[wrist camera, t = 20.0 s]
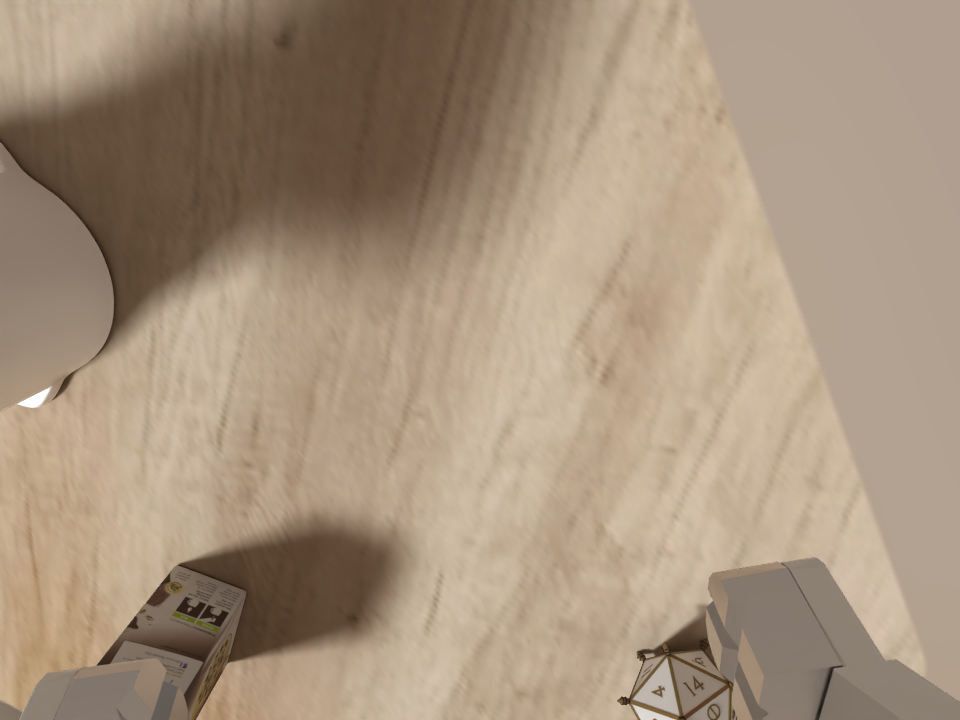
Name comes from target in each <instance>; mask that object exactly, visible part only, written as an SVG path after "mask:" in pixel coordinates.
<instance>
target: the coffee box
mask: <svg viewBox="0 0 960 720" xmlns="http://www.w3.org/2000/svg"><path fill="white" fill-rule="evenodd" d="M246 594H247V592H246V591H245V590H242V589H240V588H237V587H234V586H232V585H229V584H226V583H224V582H221V581H218V580H216V579H213V578H210V577H208V576H205V575H202V574H200V573H197V572H194V571H192V570H189V569H186V568H184V567H181V566H176V567H174V568H173V569H172V571H171V572H170V573H169V574H168V576H167V577H166V578H165V579H164V581H163V582H162V583H161V584H160V586H159V587H158V588H157V589H156V591H155V592H154V593H153V595H152V596H151V597H150V598H149V600H148V601H147V602H146V604H145V605H144V606H143V607H142V608H141V610H140V611H139V612H138V613H137V615H136V616H135V617H134V619H133V620H132V621H131V623H130V624H129V625H128V626H127V628H126V629H125V630H124V631H123V633H122V634H121V635H120V636H119V638H118V639H117V640H116V641H115V643H114V644H113V645H112V646H111V648H110V649H109V650H108V652H107V653H106V654H105V655H104V657H103V658H102V659H101V660H100V662H99V663H98V664H97V666H100V665H108V664H115V663H122V662H129V661H137V660H144V659H151V658H157V659H158V660H159V661H160V662H161V664H162V665H163V666H164V668H165V669H166V670H167V671H166V674H165V677H164V680H163V681H165V682H167V683H170V684H172V685H174V686H176V687H178V688H179V689H180V691H181V692H182V694H183V695H184V697H185V701H186V705H187V708H188V720H196V718H197V717H198V715H199V713H200V711H201V709H202V707H203V706H204V704H205V702H206V700H207V699H208V697H209V695H210V693H211V691H212V690H213V688H214V686H215V684H216V683H217V681H218V679H219V677H220V675H221V674H222V672H223V670H224V668H225V667H226V665H227V663H228V660H229V656H230V652H231V649H232V645H233V641H234V638H235V634H236V630H237V627H238V623H239V619H240V616H241V612H242V608H243V604H244V601H245V597H246Z"/></svg>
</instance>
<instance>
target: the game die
mask: <svg viewBox="0 0 960 720" xmlns="http://www.w3.org/2000/svg"><path fill="white" fill-rule="evenodd" d="M707 646H708V643H707V640H706V639H705V640H703V641H701V644H700V649H695V650H687V651H678V652H670V650H671V649H670V646H668V645H667V644H665V643H664V645H663V647H662V649H663V652H664V653H665V654H662V655H658V656H654V657H651V658H647V659H646V658H645V655H643V653H642V652H637V656H638V657H637V658H639V659H640V661H643V664H642V667H641V669H640V672H639V675H638V677H637V680H636V682H635V685H634V687H633V690H632V693H631V695H630V698H626V697H621V698H620V699H618V700H617V701H618V702H619V703H620V704H621V705H627V704H629V705H630V706H631V708H632V710H633V712H634V713H635V715H636V717H637V718H638V720H737V716H736V713H735V711H734V708H733V706H732V703H731V701H732V693H733V688H732V686H733V685H734V684H733V683H732V682H731V681H728V679H727V678H726V677H724V676H723V675H722V674H721V673H719V670H718V668H717V666H716V665H715V663H714V662H713V661H712V660H711V658H710V657H709V656H708V655H707V653H706V652H705V649H706V648H707Z"/></svg>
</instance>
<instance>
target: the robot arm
mask: <svg viewBox="0 0 960 720" xmlns="http://www.w3.org/2000/svg"><path fill="white" fill-rule="evenodd" d="M113 314H114V294H113V287H112V282H111V277H110V274H109V270H108V267H107V265H106V262H105V260H104V257H103V255H102V253H101V251H100V249H99V247H98V245H97V243H96V241H95V240H94V238H93V237H92V235H91V233H90V232H89V231H88V229H87V228H86V226H85V225H84V224H83V222H82V221H81V220H80V219H79V218H78V216H77V215H76V214H75V213H74V212H73V211H72V210H71V209H70V208H69V207H68V206H67V205H66V204H65V203H64V202H63V201H62V200H60V199H59V198H58V197H57V196H56V195H54V194H53V193H52V192H50V191H49V190H47V189H46V188H45V187H43V186H42V185H40V184H39V183H38V182H36V181H35V180H33V179H32V178H31V177H30V176H28V175H27V174H26V173H25V172H24V171H23V170H22V169H21V168H20V167H19V165H18V164H17V163H16V161H15V160H14V159H13V157H12V156H11V155H10V153H9V152H8V151H7V149H6V148H5V147H4V146H3V145H2V143H1V142H0V412H2V411H4V410H6V409H8V408H10V407H12V406H14V405H16V404H18V405H21V406H25V407H29V408H38V407H40V406H42V405H44V404H47V403H49V402H50V401H51V400H53V398H54V397H55V396H56V394H57V393H58V391H59V389H60V387H61V385H62V383H63V381H64V379H65V378H66V377H67V376H68V375H69V374H71V373H72V372H73V371H75V370H77V369H79V368H80V367H82V366H83V365H85V364H86V363H88V362H89V361H90V360H91V359H93V358H94V357H95V355H96V354H97V353H98V352H99V351H100V349H101V348H102V347H103V345H104V343H105V342H106V339H107V337H108V335H109V332H110V329H111V326H112V321H113ZM708 590H709V592H710V594H711V597H712V599H713V602H712V603H711V604H710V605H709V606H708V607H706V629H707V635H708V641H709V644H710V648H711V651H712V654H713V657H714V660H715V663H716V665H717V668H718V670H719V673H721V674H722V675H723V676H724V677H726V678H727V679H728V680H729V681H731V682H732V683H733V684H734V685H733V693H732V701H731V703H732V706H733V708H734V711H735V713H736V716H737V718H738V720H960V702H959V701H958V700H956V699H955V698H953V697H952V696H950V695H949V694H947V693H946V692H944V691H943V690H941V689H940V688H938V687H937V686H935V685H934V684H932V683H931V682H929V681H928V680H926V679H925V678H923V677H922V676H920V675H919V674H917V673H916V672H914V671H913V670H911V669H910V668H908V667H907V666H905V665H904V664H902V663H901V662H899V661H898V660H896V659H894V660H885V659H884V658H883V656H882V655H881V653H880V652H879V650H878V648H877V647H876V645H875V644H874V642H873V640H872V639H871V637H870V636H869V634H868V633H867V631H866V629H865V628H864V626H863V625H862V623H861V621H860V620H859V618H858V617H857V615H856V613H855V612H854V610H853V609H852V607H851V606H850V604H849V602H848V601H847V599H846V598H845V596H844V594H843V593H842V591H841V590H840V588H839V586H838V585H837V583H836V582H835V580H834V579H833V577H832V575H831V574H830V572H829V571H828V569H827V567H826V566H825V564H824V563H823V562H821V561H820V560H819V559H818V558H813V557H811V558H805V559H799V560H794V561H788V562H782V563H779V562H774V563H768V564H762V565H756V566H751V567H745V568H739V569H733V570H727V571H721V572H715V573H712V575H711V576H710V577H709V585H708ZM166 671H167V670H166V669H165V668H164V666H163V665H162V664H161V662H160V661H159V660H158V659H157V658H151V659H144V660H137V661H129V662H122V663H115V664H108V665H100V666H93V667H83V668H76V669H70V670H63V671H56V672H50V673H47V674H46V675H45V676H44V677H43V678H42V679H41V680H40V681H39V682H38V683H37V685H36V686H35V688H34V690H33V692H32V694H31V696H30V699H29V701H28V703H27V705H26V707H25V709H24V711H23V713H22V715H21V717H20V719H19V720H188V708H187V705H186V701H185V697H184V695H183V694H182V692H181V691H180V689H179V688H178V687H176V686H174V685H172V684H170V683H167V682H165V681H163V680H164V677H165V674H166Z"/></svg>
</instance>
